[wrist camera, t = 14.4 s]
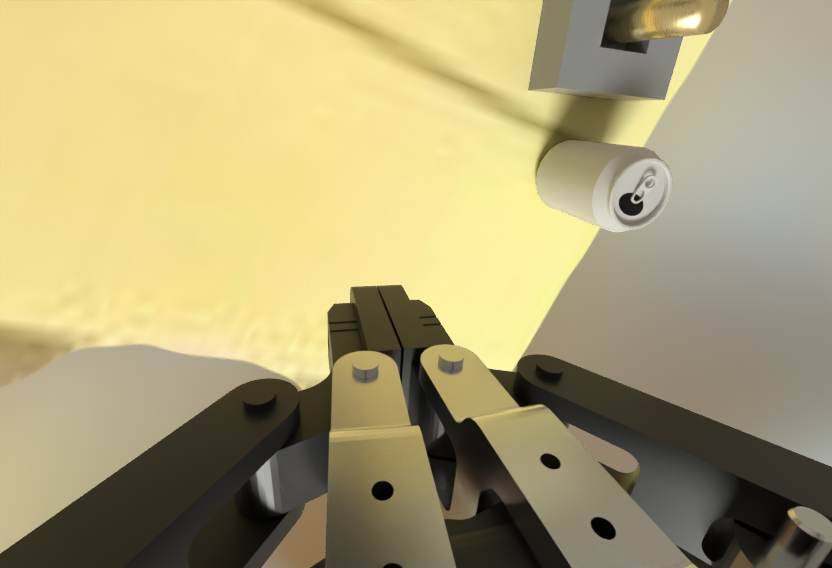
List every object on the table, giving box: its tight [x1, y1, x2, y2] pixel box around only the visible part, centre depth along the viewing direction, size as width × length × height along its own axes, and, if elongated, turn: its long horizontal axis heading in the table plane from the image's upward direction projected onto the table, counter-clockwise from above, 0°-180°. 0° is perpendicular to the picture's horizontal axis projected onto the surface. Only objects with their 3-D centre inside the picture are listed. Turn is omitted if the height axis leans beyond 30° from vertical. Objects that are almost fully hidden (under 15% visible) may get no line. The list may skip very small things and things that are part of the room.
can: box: [536, 140, 672, 232], centre depth 38 cm, size 8×8×12 cm
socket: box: [529, 0, 683, 101], centre depth 36 cm, size 12×12×5 cm
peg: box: [601, 0, 729, 45], centre depth 32 cm, size 3×3×10 cm
